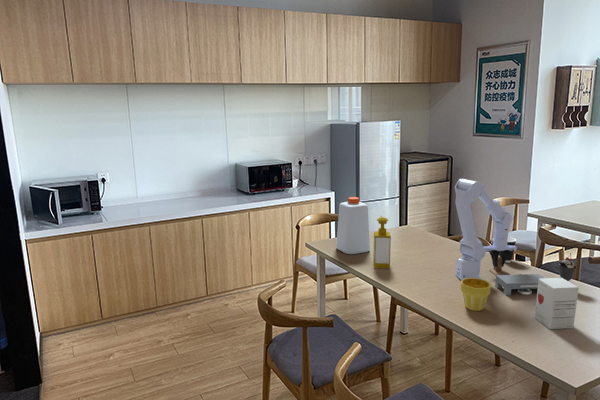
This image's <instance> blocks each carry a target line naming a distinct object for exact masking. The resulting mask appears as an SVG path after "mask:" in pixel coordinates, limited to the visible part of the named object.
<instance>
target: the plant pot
mask: <svg viewBox="0 0 600 400" xmlns="http://www.w3.org/2000/svg"><path fill="white" fill-rule="evenodd" d="M460 290H461V292H462V297H463V302H464V306H465V308H466V309H468V310H470V311H473V312H474V311H475V312H478V311H479V312H480V311H483V310H484V309H485V306H486V304H487V303H486V302H487V301H488V297H489V295H491V291H492V283H491V282H489V281H487V280H485V279H483V278H482V279H479V278H466V279H463V280H462V281H461V280H460Z"/></svg>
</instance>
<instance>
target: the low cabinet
mask: <svg viewBox="0 0 600 400" xmlns="http://www.w3.org/2000/svg"><path fill="white" fill-rule="evenodd" d="M541 278H545V277H544V276H542V275H540V274H539V273H533V274H532V273H530V274H526V273H525V274H523V273H522V274H510V275H496V276H495V282H494V283H495V284H494V287H495V288H496V289H503V295H505V296H511V295H512V290H514V289H530V290H532V289H538V281H539V279H541Z"/></svg>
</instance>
